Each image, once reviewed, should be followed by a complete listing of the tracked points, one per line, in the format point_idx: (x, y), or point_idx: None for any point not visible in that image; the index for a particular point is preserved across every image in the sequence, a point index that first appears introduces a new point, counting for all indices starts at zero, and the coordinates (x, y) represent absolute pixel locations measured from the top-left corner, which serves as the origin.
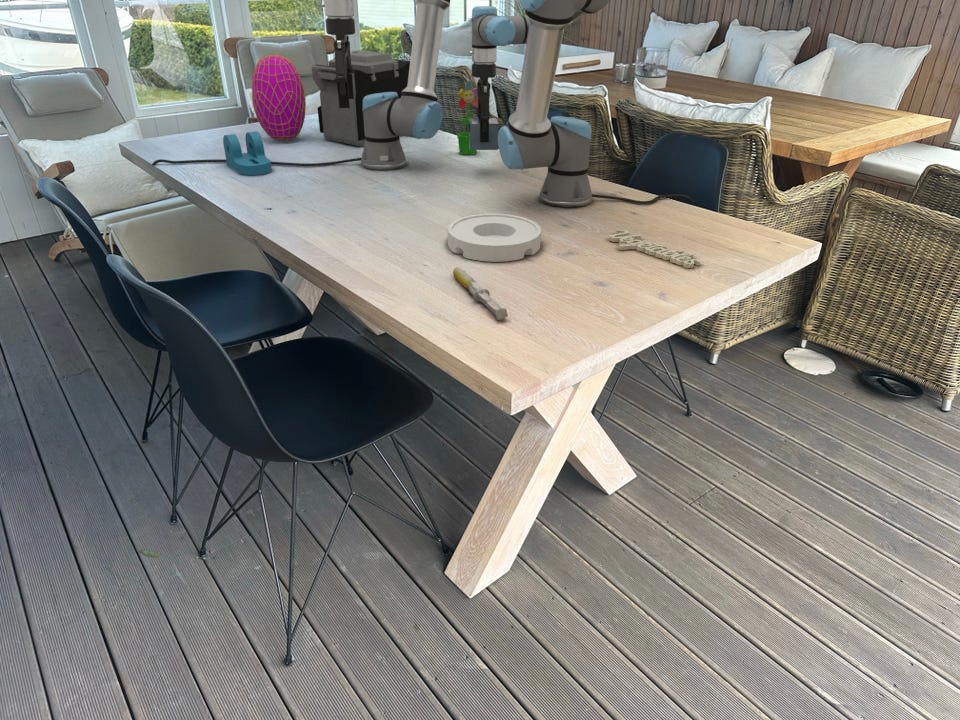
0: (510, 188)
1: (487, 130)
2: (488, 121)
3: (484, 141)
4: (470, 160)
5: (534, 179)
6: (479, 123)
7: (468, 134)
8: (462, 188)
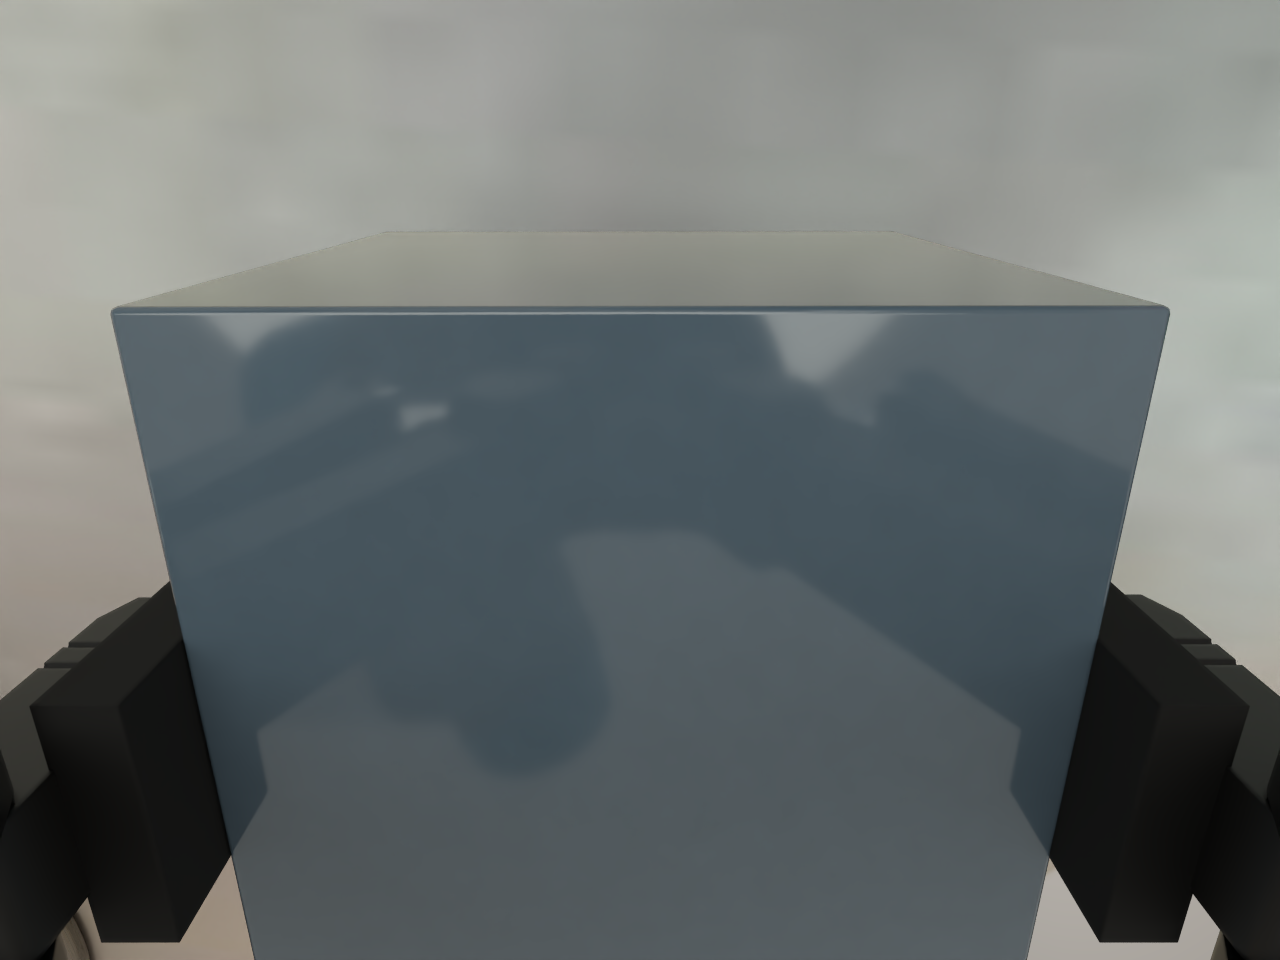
0: (128, 595)
1: None
2: (111, 912)
3: None
4: (1276, 262)
5: None
6: (216, 626)
7: (902, 248)
8: (23, 87)
